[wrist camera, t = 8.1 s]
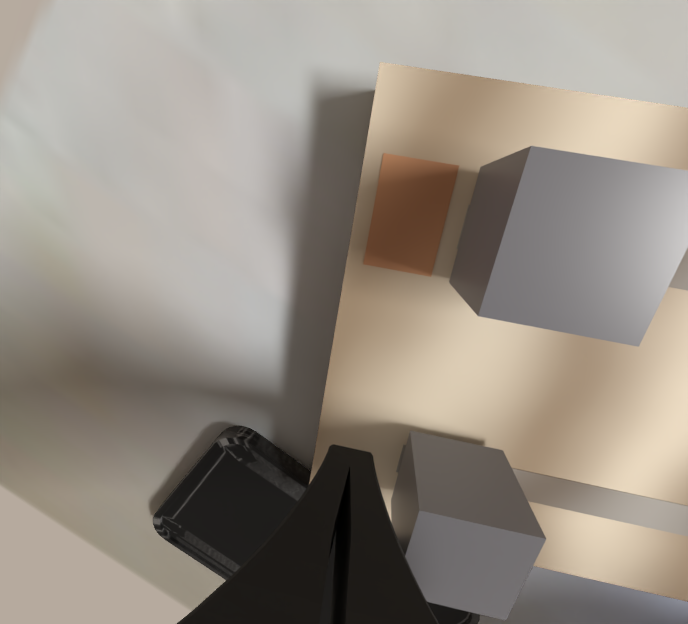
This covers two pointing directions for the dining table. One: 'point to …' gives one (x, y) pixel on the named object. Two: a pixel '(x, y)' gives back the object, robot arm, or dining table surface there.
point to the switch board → (511, 330)
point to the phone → (245, 509)
